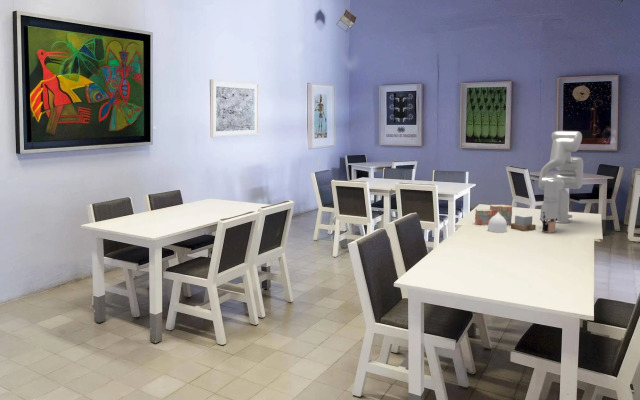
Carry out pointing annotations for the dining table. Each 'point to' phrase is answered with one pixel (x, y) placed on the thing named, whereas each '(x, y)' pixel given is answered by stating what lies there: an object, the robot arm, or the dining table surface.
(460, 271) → the dining table surface
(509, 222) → the stack of blocks
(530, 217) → the grey block
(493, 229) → the teardrop
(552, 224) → the terracotta block
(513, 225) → the plinth
